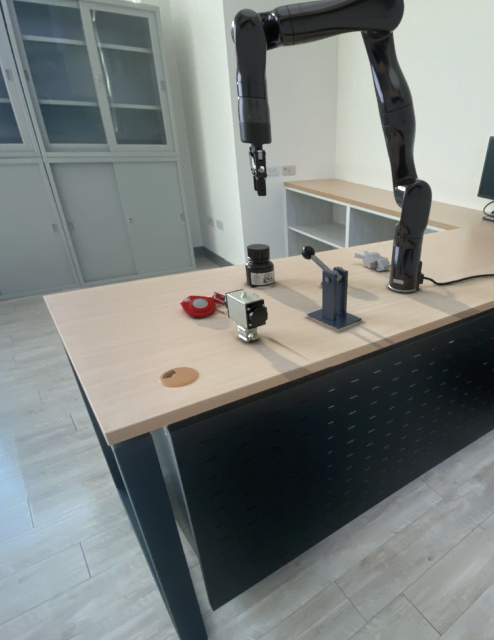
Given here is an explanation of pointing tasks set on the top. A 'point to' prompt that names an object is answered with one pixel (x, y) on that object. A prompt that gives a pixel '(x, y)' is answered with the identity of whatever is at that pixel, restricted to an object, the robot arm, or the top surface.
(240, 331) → the pneumatic valve
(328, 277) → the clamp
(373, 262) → the bunny figurine
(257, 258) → the ink bottle
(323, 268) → the clamp handle
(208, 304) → the tracker holder
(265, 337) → the top surface
